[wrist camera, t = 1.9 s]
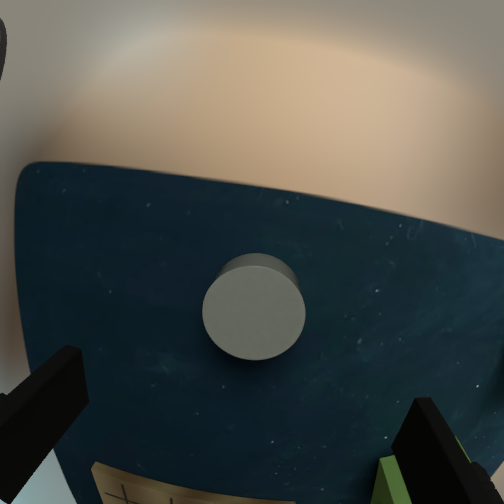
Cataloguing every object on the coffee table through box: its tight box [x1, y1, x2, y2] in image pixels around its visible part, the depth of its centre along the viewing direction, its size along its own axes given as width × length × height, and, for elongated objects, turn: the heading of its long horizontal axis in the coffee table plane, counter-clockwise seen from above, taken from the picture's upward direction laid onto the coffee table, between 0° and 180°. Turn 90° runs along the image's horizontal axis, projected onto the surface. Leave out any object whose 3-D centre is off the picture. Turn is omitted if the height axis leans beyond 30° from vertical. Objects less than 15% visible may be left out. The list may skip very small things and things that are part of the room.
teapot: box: [370, 436, 471, 504], centre depth 21 cm, size 15×13×11 cm
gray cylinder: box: [202, 253, 305, 360], centre depth 21 cm, size 6×6×4 cm
